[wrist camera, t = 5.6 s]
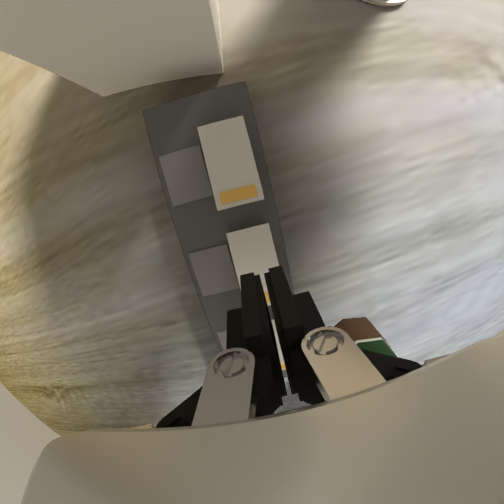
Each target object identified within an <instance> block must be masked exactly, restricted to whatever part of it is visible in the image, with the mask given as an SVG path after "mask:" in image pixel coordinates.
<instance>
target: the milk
mask: <svg viewBox="0 0 504 504" xmlns="http://www.w3.org/2000/svg"><path fill="white" fill-rule="evenodd" d="M0 51H2V52H5V53H8V54H10V55H13V56H15V57H18V58H20V59H23V60H25V61H27V62H30V63H32V64H34V65H37V66H39V67H41V68H44V69H46V70H48V71H50V72H53V73H55V74H57V75H59V76H61V77H64V78H66V79H68V80H70V81H72V82H74V83H76V84H78V85H80V86H83V87H85V88H87V89H89V90H91V91H93V92H95V93H97V94H99V95H101V96H103V97H105V96H108V95H112V94H115V93H119V92H122V91H126V90H130V89H134V88H138V87H142V86H147V85H151V84H156V83H161V82H166V81H172V80H177V79H183V78H190V77H196V76H204V75H212V74H221V73H224V71H223V59H222V46H221V34H220V21H219V7H218V0H0Z"/></svg>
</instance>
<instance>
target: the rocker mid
mask: <svg viewBox="0 0 504 504" xmlns="http://www.w3.org/2000/svg"><path fill="white" fill-rule="evenodd" d="M226 235H227V239H228V243H229V247H230V251H231V255H232V259H233V263H234V267H235V270H236V274H237V278H238V282H239V286H240V290H241V285H240V275H243V274H248V273H252V272H254V275H259V274H260V278H261V282H262V286H263V290H264V294H265V298H266V302H267V306H269V305H271V303H270V299H269V294H268V290H267V286H266V281H265V277H264V273H267V272H269V270H268V268H272V267H276V266H279V263H278V259H277V255H276V251H275V247H274V243H273V239H272V235H271V231H270V227H269V223H266V224H262V225H258V226H254V227H250V228H246V229H242V230H238V231H234V232H230V233H226Z"/></svg>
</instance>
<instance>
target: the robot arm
mask: <svg viewBox="0 0 504 504" xmlns="http://www.w3.org/2000/svg"><path fill="white" fill-rule="evenodd" d="M362 1H364V2H367V3H371V4H374V5H379V6H396V5H400V4H402V3H404V2H405V1H407V0H362ZM268 270H269V272H267V273H264V277H265V281H266V286H267V290H268V294H269V299H270V303H271V308H272V313H273V317H274V322H275V326H276V330H277V335H278V339H279V343H280V347H281V351H282V355H283V359H284V363H285V367H286V372H287V376H288V380H289V384H290V388H291V392H292V394H295V393H298V395H299V399H300V401H304V402H306V403H309V404H311V406H307V407H303V408H299V409H295V410H290V411H286V412H281V413H276V414H274V412H275V411H276V409H277V408H278V407H279V406H281V405H283V402H282V396H287V392H286V387H285V382H284V377H283V372H282V367H281V363H280V358H279V353H278V348H277V343H276V338H275V334H274V329H273V325H272V321H271V317H270V313H269V310H268V306H267V302H266V298H265V294H264V290H263V286H262V282H261V278H260V274H259V275H254V272H252V273H248V274H243V275H240V285H241V304H242V307H241V308H237V309H232V310H228V311H227V338H226V350H225V351H222V352H220V353H219V354H217V355H216V356H215V357H214V358H213V359H212V360H211V361H210V363H209V365H208V369H207V372H206V376H205V380H204V383H203V386H202V387H201V388H200V389H198V390H197V391H196V392H195V393H193V394H192V395H191V396H190V397H189V398H187V399H186V400H185V401H184V402H182V403H181V404H180V405H179V406H178V407H176V408H175V409H174V410H173V411H171V412H170V413H169V414H167V415H166V416H165V417H164V418H163V419H162V420H161V421H160V422H159V423H158V424H157V426H153V425H152V424H147V425H143V426H138V427H133V428H129V429H98V430H86V431H79V432H74V433H70V434H67V435H63V436H61V437H58V438H56V439H54V440H52V441H51V442H50V443H49V444H47V445H46V447H45V448H44V449H43V451H42V453H41V454H40V456H39V458H38V460H37V462H36V464H35V466H34V468H33V471H32V473H31V475H30V478H29V481H28V484H27V486H26V490H25V492H24V495H23V499H22V502H21V504H504V334H503V335H497V336H494V337H491V338H487V339H484V340H481V341H479V342H477V343H474V344H472V345H469V346H467V347H465V348H463V349H461V350H459V351H456V352H454V353H452V354H449V355H445V356H441V357H437V358H433V359H429V360H425V362H424V364H422V365H420V364H419V363H417V362H414V361H411V360H407V359H402V358H398V357H393V356H389V355H385V354H381V353H377V352H372V351H368V350H364V349H361V348H359V347H358V346H357V345H356V344H355V342H354V341H353V340H352V339H351V338H350V336H349V335H348V334H347V333H346V332H345V331H344V330H342V329H340V328H337V327H331V326H327V327H325V324H324V322H323V320H322V318H321V316H320V314H319V312H318V309H317V307H316V305H315V303H314V301H313V299H312V297H311V295H310V293H309V291H307V292H303V293H299V294H295V295H292V292H291V289H290V287H289V284H288V281H287V279H286V276H285V273H284V271H283V268H282V265H281V266H276V267H272V268H268Z"/></svg>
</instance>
